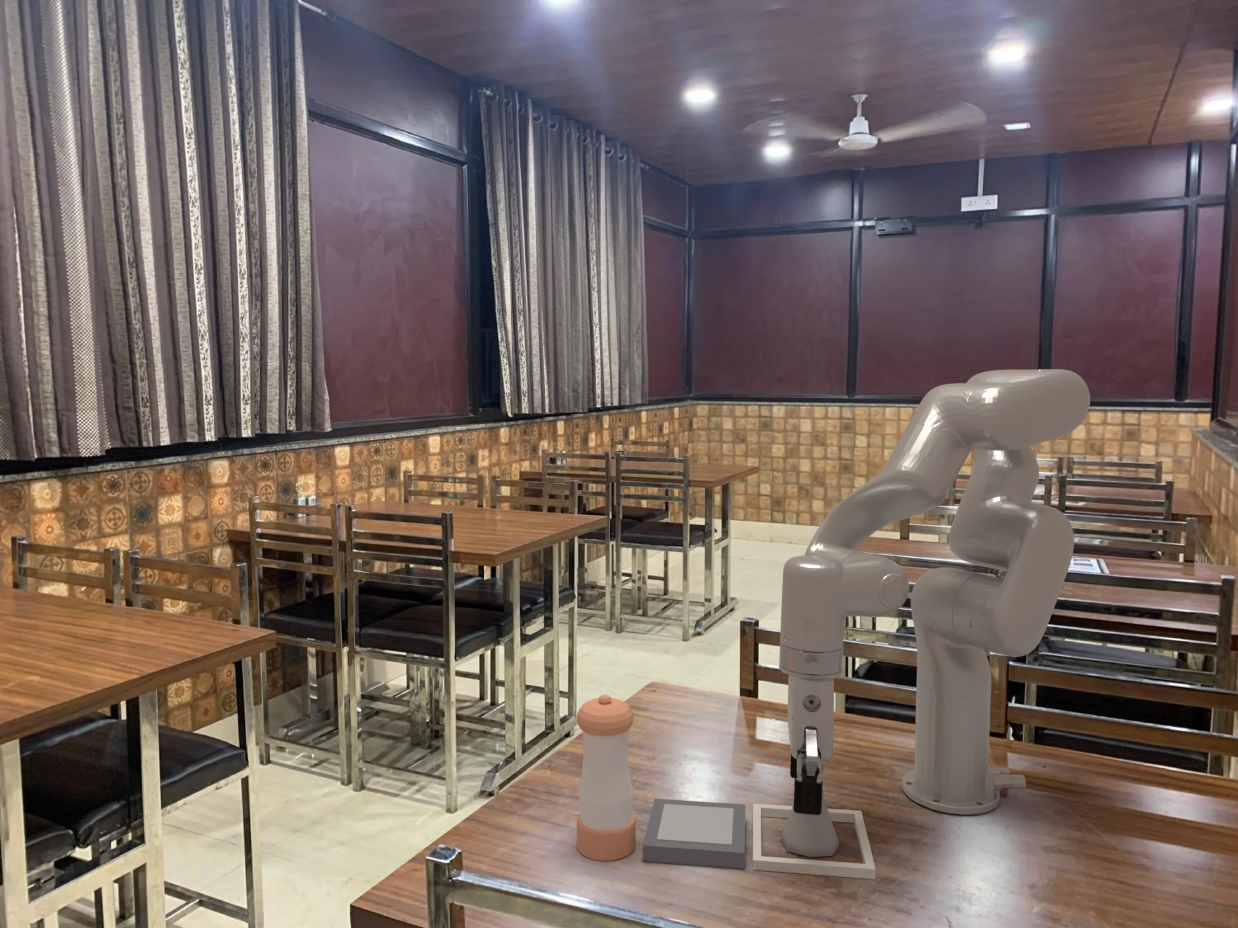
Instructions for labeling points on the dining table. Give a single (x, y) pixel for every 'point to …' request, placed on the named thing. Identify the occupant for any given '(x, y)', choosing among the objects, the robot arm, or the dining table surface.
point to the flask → (810, 832)
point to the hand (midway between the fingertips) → (804, 794)
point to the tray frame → (813, 866)
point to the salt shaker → (605, 781)
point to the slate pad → (696, 833)
